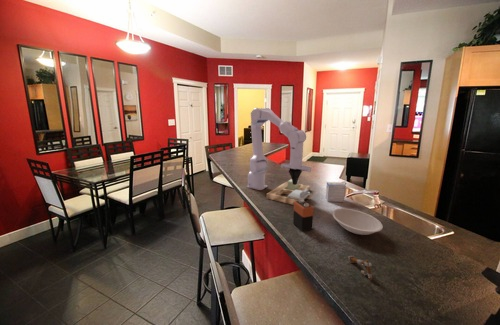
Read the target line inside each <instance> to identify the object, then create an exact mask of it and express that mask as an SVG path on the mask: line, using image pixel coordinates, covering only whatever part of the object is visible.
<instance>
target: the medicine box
mask: <svg viewBox="0 0 500 325" xmlns="http://www.w3.org/2000/svg"><path fill="white" fill-rule="evenodd" d="M325 186H326V187H325V199H326V202H330V203H331V202H334V203H335V202H336V203H344V202H345V197H346V188H347V186H346V184H345V183H344V182H339V181H338V182H335V181H331V182H330V181H326V185H325Z"/></svg>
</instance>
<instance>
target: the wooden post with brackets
mask: <svg viewBox="0 0 500 325" xmlns="http://www.w3.org/2000/svg"><path fill="white" fill-rule="evenodd" d="M347 258H348V263H350V264H354V263H356V264H357V265H360V266H364V267H365V269H366V270H365V269H364V270H363V269H362V270H361V271H360V272H361V275H364V276H367V277H368V280H370V281H371V280H373V275H372V271H371V267H372V266H373V265H372V263H371V262H369V261H370V260H367V259H366V260H361V259H358V258H356V257H355V255H349V256H347Z"/></svg>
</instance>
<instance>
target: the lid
mask: <svg viewBox="0 0 500 325" xmlns="http://www.w3.org/2000/svg"><path fill="white" fill-rule="evenodd" d="M309 194H311V192H310V191H308V189H305V190H304V191H301V190H294V191H293V192H292V193H290V194H289V195H287V197H290V198H294V199H303V200H304V201H305V200H306V197H307V196H308V195H309Z"/></svg>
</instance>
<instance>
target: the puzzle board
mask: <svg viewBox="0 0 500 325" xmlns="http://www.w3.org/2000/svg"><path fill="white" fill-rule="evenodd" d="M287 188H288V181H285V182H284V183H282V184H280V185H278V186H277V187H275V188H274V189H272V190H270V191H269V192H267V193H266V199H267V200H268V199H269V200H271V201H276V202H281V203H285V204H290V205H293V206H294V202H296V201H299V199H294V198H290V197H288V195H289V194H290V193H292V192H293V190H288V189H287ZM305 189H308V192H310V191H311V190H310V189H311V186H310V185H308V184H307V185H305V184H302V183H299V188H298V189H297V190H301V191H304V190H305ZM284 195H287V196H284ZM311 196H312V195H311V193H310V194H309V195H308V196H307V197H306V198H305V200H311Z"/></svg>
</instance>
